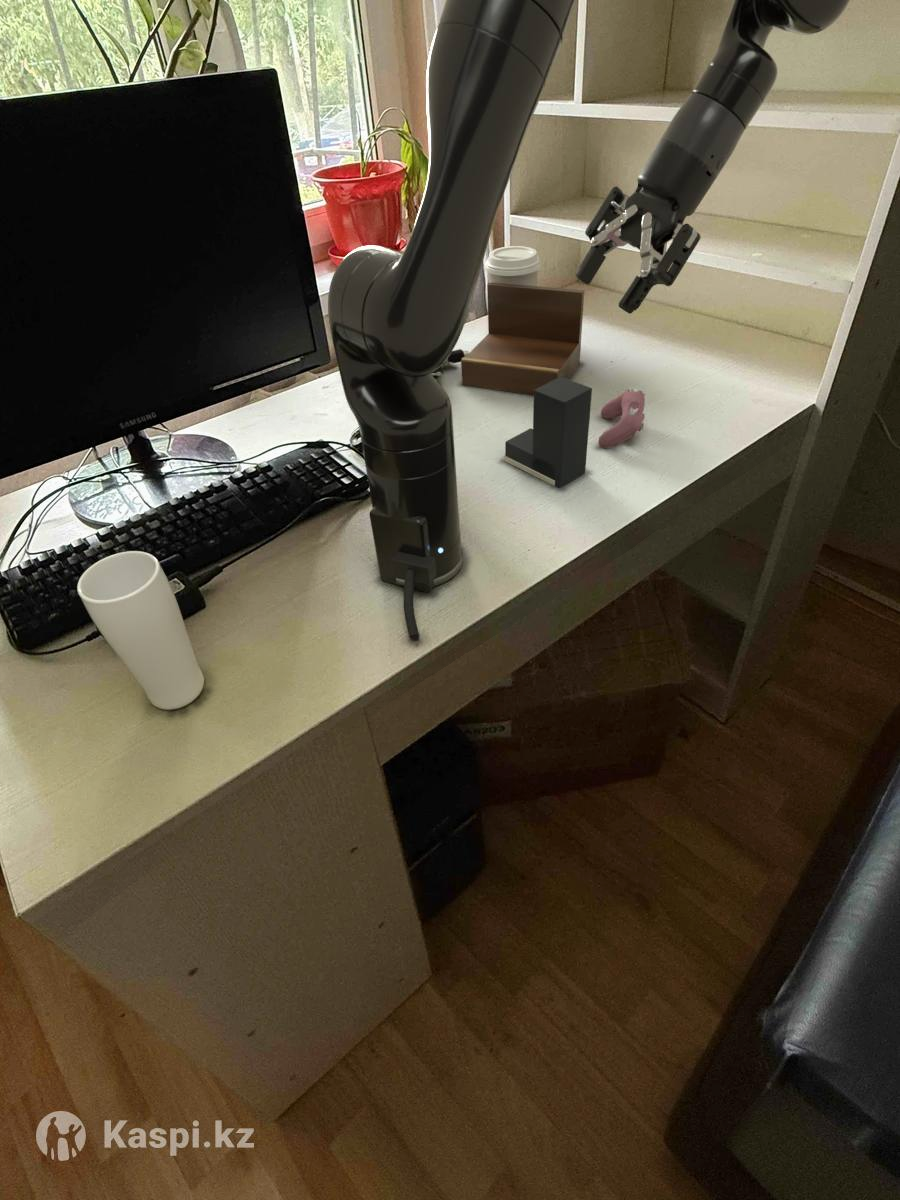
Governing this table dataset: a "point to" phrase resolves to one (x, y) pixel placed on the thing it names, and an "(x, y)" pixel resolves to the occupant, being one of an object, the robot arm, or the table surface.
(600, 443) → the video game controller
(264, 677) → the table surface
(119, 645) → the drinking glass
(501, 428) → the table surface
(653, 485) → the table surface
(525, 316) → the wooden l-shaped stand
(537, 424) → the dark l-shaped block
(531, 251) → the coffee cup
